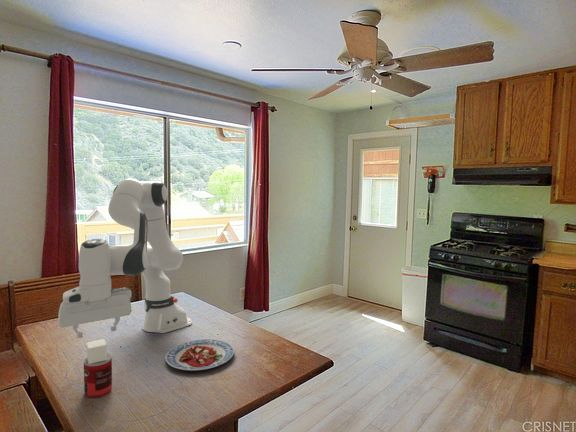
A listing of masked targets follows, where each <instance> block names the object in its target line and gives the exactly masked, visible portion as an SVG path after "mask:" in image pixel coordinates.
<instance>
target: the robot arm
mask: <svg viewBox="0 0 576 432" xmlns="http://www.w3.org/2000/svg"><path fill="white" fill-rule="evenodd" d="M168 197H169V193H168V188H167V186H166V185H165V183H164V182H162V181H158V180H157V181H156V180H154V181H150V180H149V181H144V180H141V181H138V180H137V179H134V178H126V179H124V180H122V181H121V182H120V183H119V184H117V185H116V186H115V188H114V189H113V191H112V195H111V199H110V201H109V204H108V214H109V216H110V218H111V219H112V220H113V221H114V222H116V223H117V224H119V225H120V226H124V227H128V228H129V229H132V230H133V243H132V244H130V245H127V246H126V245H125V246H123V245H122V246H121V245H119V246H118V245H117V246H116V245H115V246H114V245H109V242H108V241H107V239H104V238H103V239H102V238H93V239H88V240H85V241H84V242H81V245H80V247H79V252H78V272H79V275H80V279H79V283H78V285H79V286H76V287H74V288H71V289H69V290H66V291H65V292H63V294H62V302H61V303H60V305H59V307H58V308H59V309H58V316H57V317H58V323H57V324H58V326H60V327H61V328H67V327H72V329H73V331H74V332H75V334H76V339H81V338H83V337H84V336H83V335H84V334H83V333H84V331H83V330H79V329H78V328H79V325H83V324H89V323H95V322H100V321H104V320H111V319H113V320H114V322H113V323H112V324H110V331H111V332H116V331H117V325H118V324H119V323H120V321H121V317H126V316H130V315H131V313H132V310H133V309H132V304H131V299H132V295H133V294H132V290H131V289H130V288H127V287H126V286H124V287H120V288H119V287H118V288H117V287H116V288H112V278H111V276H112V275H113V276H115V275H116V276H118V275H119V276H120V275H121V276H135V277H137V276H139V275H141V274H142V276H143V279H144V284H145V298H144V311H145V313H144V320H143V325H142V330H143V331H145V332H149V333H159V334H166V333H168V332H169V333H170V332H172V331H175V330H179V329H183V328H186V327H190V326H191V325H192V324H193V322H192V321H193V320H192V319H191V318H190V317H188V316H187V312H186V310H185V309H184V307H181V306H180V305H178V304H176V303H178V298H177V297H174V296H172V295H171V280H170V278H169V277H168V276H167V275H166V274H165V271H173V270H174V271H175V270H178V269H179V268H180V267H181V266H182V264H183V262H184V255H183V252H182V251H181V250H180V249H179V248H178V247H177V246H176V245H175V243H173V241H172V239H171V237H170V235H169V232H168V228H167V222H166V215H165V211H164V207H163V205H165V203H167V200H168ZM189 325H190V326H189Z"/></svg>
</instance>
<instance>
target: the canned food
mask: <svg viewBox="0 0 576 432" xmlns="http://www.w3.org/2000/svg"><path fill="white" fill-rule="evenodd" d="M112 360H113V358H112V355H111V354H110V353H107V360H105V361H100V362H96V363H92V364H88V360H87V357H85V358H84V360H83V385H84V386H83V389H84V390H83V392H84V394H85V397H87V398H90V399H91V398H92V399H97V398H101V397H103V396H107V394H109V393H110V392H111V390H112V388H113V369H112V368H113V363H112V362H113V361H112Z"/></svg>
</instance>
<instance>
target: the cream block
mask: <svg viewBox="0 0 576 432" xmlns="http://www.w3.org/2000/svg"><path fill="white" fill-rule="evenodd" d="M107 346H108V345H107V342H106V340H105V339H104V338H103V339H98V340H94V341H93V340H92V341H89V342H86V358H87V360H88V364H92V363H96V362H100V361H105V360H107V354H108V352H107V350H108V349H107V348H108V347H107Z"/></svg>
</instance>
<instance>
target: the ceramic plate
mask: <svg viewBox="0 0 576 432" xmlns="http://www.w3.org/2000/svg"><path fill="white" fill-rule="evenodd" d="M234 350H235V349H234V347H233V346H232V345H231V344H230V343H227V342H225V341H222V340H218V339H207V338H206V339H195V340H194V339H193V340H190V341H185V342H183V343H180V344H178V345H175V346H174V347H173V348H171V349H169V351H168V352H167V353H166V354H165V361H166V363H167V365H169V366H170V367H172V368H173V369H178V370H183V371H204V370H209V369H212V368H216V367H219V366H221V365H223V364H225V363H227V362H228V361H229V360H231V358H233V356H234V352H235V351H234Z"/></svg>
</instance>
